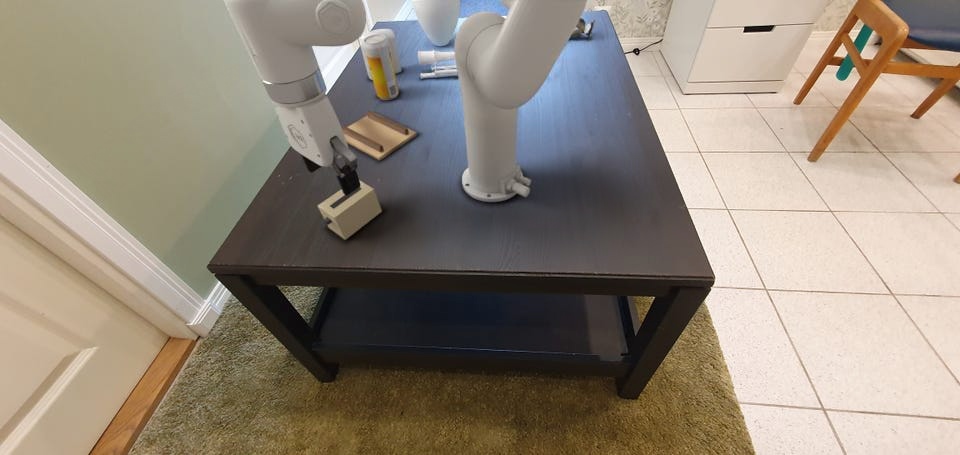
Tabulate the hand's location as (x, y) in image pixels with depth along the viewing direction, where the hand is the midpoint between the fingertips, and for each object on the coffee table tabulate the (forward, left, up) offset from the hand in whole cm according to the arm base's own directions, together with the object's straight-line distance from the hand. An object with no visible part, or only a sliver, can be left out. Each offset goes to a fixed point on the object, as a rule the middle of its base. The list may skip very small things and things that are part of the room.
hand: (334, 178), depth 64 cm
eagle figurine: (+5, -97, -11) cm, 98 cm away
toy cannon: (+25, -54, -11) cm, 61 cm away
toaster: (0, 0, -11) cm, 11 cm away
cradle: (+18, -21, -11) cm, 30 cm away
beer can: (+30, -36, -11) cm, 48 cm away
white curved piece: (+40, -44, -11) cm, 61 cm away
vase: (+40, -69, -11) cm, 81 cm away
